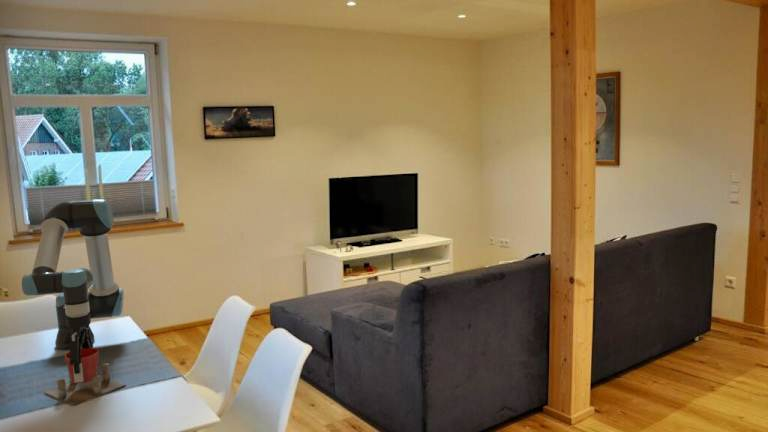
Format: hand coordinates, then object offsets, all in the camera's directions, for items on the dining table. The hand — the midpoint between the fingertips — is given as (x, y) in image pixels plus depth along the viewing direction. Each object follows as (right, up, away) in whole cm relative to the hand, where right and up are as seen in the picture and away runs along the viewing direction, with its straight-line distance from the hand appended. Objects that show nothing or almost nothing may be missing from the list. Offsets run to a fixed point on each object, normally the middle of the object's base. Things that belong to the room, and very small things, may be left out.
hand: (84, 375), depth 216 cm
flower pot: (0, -2, 0) cm, 2 cm away
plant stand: (0, -5, +1) cm, 5 cm away
